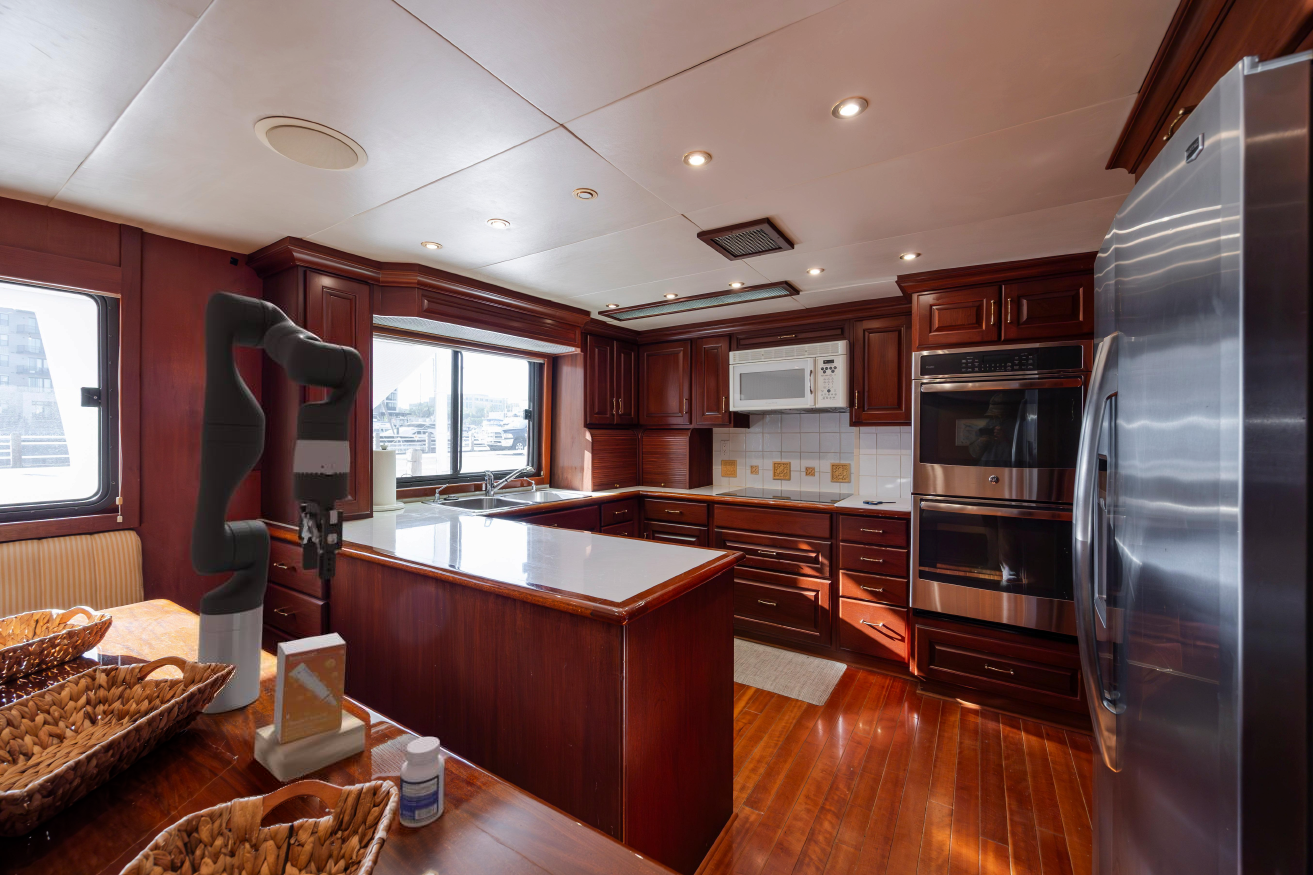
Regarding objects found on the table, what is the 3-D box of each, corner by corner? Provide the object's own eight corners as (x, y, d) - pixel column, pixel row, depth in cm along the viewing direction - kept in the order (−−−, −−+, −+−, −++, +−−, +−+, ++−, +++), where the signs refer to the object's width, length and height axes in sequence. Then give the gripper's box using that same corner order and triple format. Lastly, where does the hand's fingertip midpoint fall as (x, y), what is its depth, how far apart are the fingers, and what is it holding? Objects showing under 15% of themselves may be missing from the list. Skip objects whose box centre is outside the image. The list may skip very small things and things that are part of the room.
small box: (279, 745, 77) (283, 654, 77) (272, 728, 82) (276, 642, 82) (343, 727, 82) (346, 641, 83) (333, 712, 87) (337, 631, 88)
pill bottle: (411, 800, 72) (413, 732, 72) (450, 801, 71) (452, 733, 72) (390, 827, 66) (392, 754, 67) (432, 829, 66) (434, 755, 66)
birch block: (254, 760, 81) (255, 729, 81) (332, 730, 90) (333, 703, 90) (283, 787, 75) (285, 754, 75) (364, 752, 84) (365, 723, 84)
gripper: (282, 468, 86) (278, 570, 86) (306, 471, 76) (302, 586, 76) (334, 468, 92) (331, 563, 91) (363, 470, 82) (359, 577, 81)
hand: (317, 573), depth 83 cm, fingers open, 8 cm apart
